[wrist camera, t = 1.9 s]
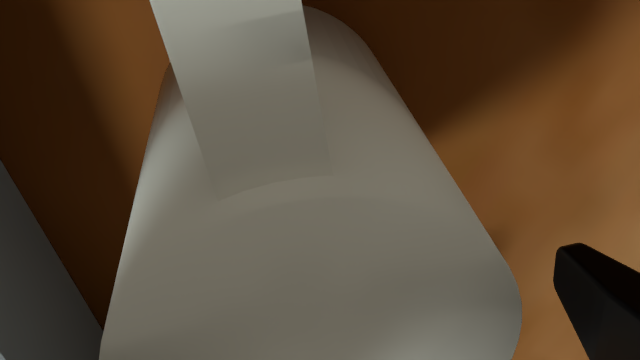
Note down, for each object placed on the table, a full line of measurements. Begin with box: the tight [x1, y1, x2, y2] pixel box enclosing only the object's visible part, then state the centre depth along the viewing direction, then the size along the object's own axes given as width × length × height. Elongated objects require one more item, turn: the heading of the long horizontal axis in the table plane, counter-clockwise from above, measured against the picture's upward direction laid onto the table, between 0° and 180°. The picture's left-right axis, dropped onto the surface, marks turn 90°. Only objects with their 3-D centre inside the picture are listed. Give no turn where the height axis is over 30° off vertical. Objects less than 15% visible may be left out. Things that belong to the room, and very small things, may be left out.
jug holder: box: [0, 160, 103, 360], centre depth 14 cm, size 12×18×4 cm, turn 9°
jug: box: [99, 0, 522, 360], centre depth 12 cm, size 10×7×9 cm
